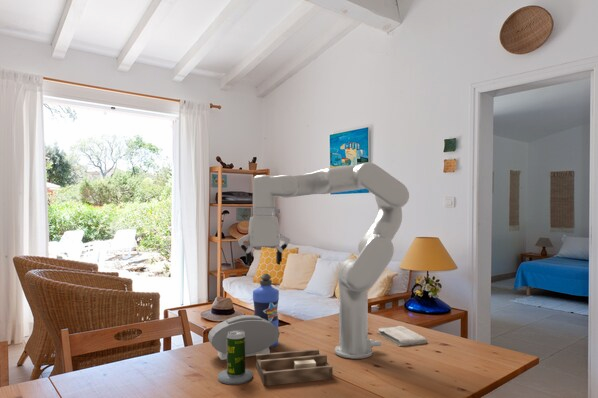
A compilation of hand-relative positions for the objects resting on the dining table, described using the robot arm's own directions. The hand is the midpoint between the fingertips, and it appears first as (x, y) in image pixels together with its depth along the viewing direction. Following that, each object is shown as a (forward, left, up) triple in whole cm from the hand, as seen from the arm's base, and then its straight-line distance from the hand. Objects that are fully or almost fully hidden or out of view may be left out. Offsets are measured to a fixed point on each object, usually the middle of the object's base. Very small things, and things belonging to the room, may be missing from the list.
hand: (264, 264), depth 143 cm
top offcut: (-9, +20, -28) cm, 36 cm away
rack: (-6, +16, -30) cm, 35 cm away
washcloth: (-53, -7, -31) cm, 62 cm away
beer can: (+11, +15, -30) cm, 35 cm away
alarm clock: (+6, -4, -31) cm, 31 cm away
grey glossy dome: (+11, +15, -30) cm, 36 cm away
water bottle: (-3, -13, -31) cm, 33 cm away
